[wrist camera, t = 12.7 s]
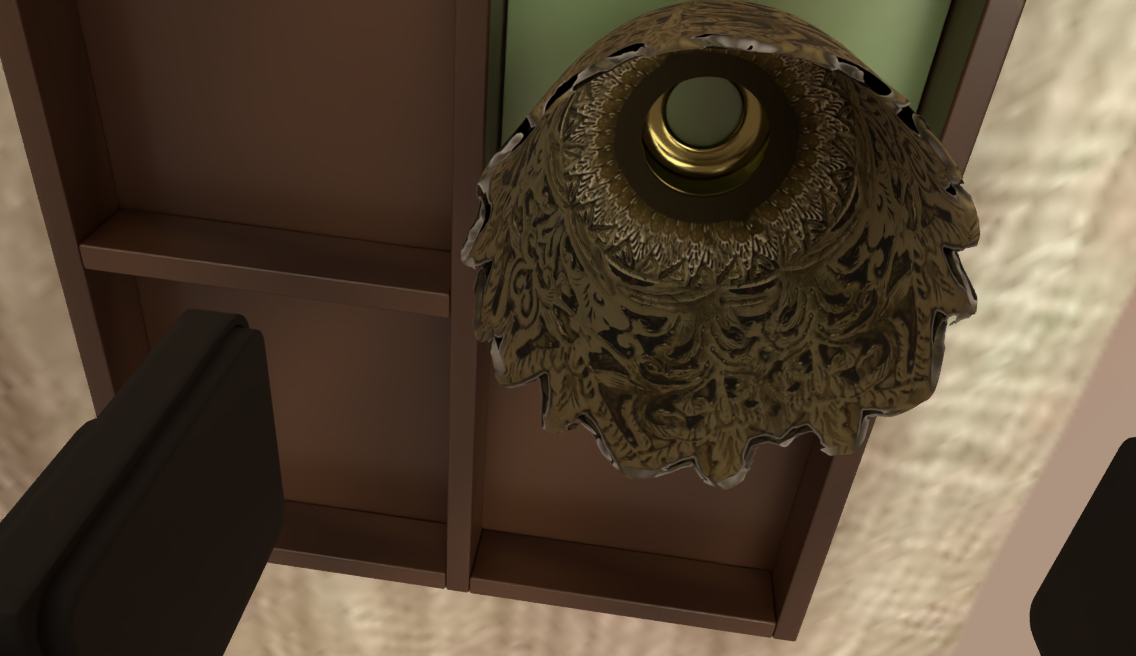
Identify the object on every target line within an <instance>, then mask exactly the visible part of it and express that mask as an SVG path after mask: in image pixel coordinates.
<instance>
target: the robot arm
mask: <svg viewBox="0 0 1136 656" xmlns="http://www.w3.org/2000/svg"><path fill="white" fill-rule="evenodd" d="M284 516H285V501H284V493H283V485H282V477H281V469H280V461H279V453H278V445H277V437H276V429H275V421H274V413H273V405H272V397H271V389H270V381H269V373H268V365H267V357H266V349H265V341H264V337H263V334H262V332H261V331H259V330H256V329H250V328H249V324H248V321H247V320H246V318H245V317H244V316H243V315H241V314H234V313H226V312H218V311H210V310H202V309H193V308H192V309H187V310H186V311H185V312H184V313H183V314H181V316H180V317H179V318H178V319H177V320H176V322H175V323H174V324H173V325H172V327H171V328H170V329H169V330H168V331H167V333H166V334H165V335H164V336H163V337H162V339H161V340H160V341H159V342H158V344H157V345H156V346H155V347H154V348H153V350H152V351H151V352H150V353H149V355H148V356H147V357H146V358H145V359H144V361H143V362H142V363H141V364H140V366H139V367H138V368H137V369H136V370H135V372H134V373H133V374H132V375H131V377H130V378H129V379H128V380H127V381H126V383H125V384H124V385H123V386H122V387H121V389H120V390H119V391H118V392H117V394H116V395H115V396H114V397H113V398H112V400H111V401H110V402H109V403H108V405H107V406H106V407H105V408H104V409H103V411H102V412H101V413H100V414H99V416H98V417H97V418H95V419H93V420H90V421H88V422H86V423H85V424H84V425H83V426H82V427H81V428H80V429H79V430H78V431H76V433H75V434H74V435H73V436H72V437H71V439H70V440H69V441H68V442H67V443H66V445H65V446H64V447H63V448H62V449H61V451H60V452H59V453H58V454H57V455H56V457H55V458H54V459H53V460H52V461H51V463H50V464H49V465H48V466H47V467H46V469H45V470H44V471H43V472H42V473H41V475H40V476H39V477H38V478H37V479H36V481H35V482H34V483H33V484H32V485H31V487H30V488H29V489H28V490H27V491H26V493H25V494H24V495H23V496H22V497H21V499H20V500H19V501H18V502H17V503H16V505H15V506H14V507H13V508H12V509H11V511H10V512H9V513H8V514H7V515H6V517H5V518H4V519H3V520H2V521H1V523H0V656H223V654H224V652H225V650H226V648H227V646H228V644H229V642H230V640H231V638H232V635H233V633H234V631H235V629H236V627H237V625H238V623H239V621H240V619H241V616H242V614H243V612H244V610H245V608H246V606H247V604H248V602H249V600H250V597H251V595H252V593H253V591H254V589H255V587H256V585H257V583H258V581H259V579H260V576H261V574H262V572H263V570H264V568H265V566H266V564H267V562H268V560H269V557H270V555H271V553H272V551H273V549H274V547H275V545H276V543H277V541H278V538H279V536H280V533H281V530H282V527H283V522H284ZM1030 627H1031V631H1032V634H1033V637H1034V640H1035V642H1036V645H1037V647H1038V650H1039V652H1040V655H1041V656H1136V437H1132V438H1129V439H1127V440H1125V441H1124V442H1123V444H1122V445H1121V446H1120V448H1119V449H1118V451H1117V453H1116V455H1115V456H1114V458H1113V460H1112V462H1111V463H1110V465H1109V467H1108V469H1107V470H1106V472H1105V474H1104V476H1103V477H1102V479H1101V481H1100V483H1099V484H1098V486H1097V488H1096V490H1095V491H1094V493H1093V495H1092V497H1091V499H1090V500H1089V502H1088V504H1087V506H1086V507H1085V509H1084V511H1083V513H1082V514H1081V516H1080V518H1079V520H1078V522H1077V523H1076V525H1075V527H1074V528H1073V530H1072V532H1071V534H1070V535H1069V537H1068V539H1067V541H1066V542H1065V544H1064V546H1063V548H1062V549H1061V551H1060V553H1059V555H1058V557H1057V558H1056V560H1055V562H1054V564H1053V565H1052V567H1051V569H1050V570H1049V572H1048V574H1047V576H1046V577H1045V579H1044V581H1043V583H1042V585H1041V586H1040V588H1039V590H1038V592H1037V593H1036V595H1035V597H1034V599H1033V601H1032V604H1031V608H1030Z"/></svg>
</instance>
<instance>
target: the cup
mask: <svg viewBox="0 0 1136 656" xmlns="http://www.w3.org/2000/svg"><path fill="white" fill-rule="evenodd" d="M698 77H718V78H723V79H726V80H727V81H729V82H730V83H731V84H732V85H733V86H734V87H735V88H736V90H737V91H738V93H739V95H740V98H741V101H742V116H741V120H740V122H739V125H738V126H737V128H736V130H735V131H734V132H733V133H732V134H731V135H730V136H729V137H728V138H727V139H725V140H724V141H722V142H720V143H718V144H715V145H711V146H694V145H691V144H688V143H686V142H684V141H682V140H681V139H680V138H678V137H677V136H676V135H675V134H674V132H673V131H672V129H671V128H670V126H669V123H668V120H667V103H668V100H669V97H670V95H671V93H672V92H673V90H674V89H675V88H676V87H677V86H678V85H679V84H680V83H681V82H683V81H686V80H689V79H693V78H698ZM910 103H911V102H910V101H909V100H908V99H907V98H906V97H904V96H903V95H902V94H900V93H899V92H897V91H896V90H895V89H893V88H892V87H891V86H889V85H888V84H887V83H886V82H885V81H883V80H882V79H881V78H880V77H879V76H878V75H877V74H876V73H875V72H874V71H872V70H871V69H870V68H869V67H868V66H867V65H866V64H864V63H863V62H862V61H861V60H860V59H859V58H858V57H857V56H855V55H854V54H853V53H852V52H851V51H850V50H849V49H847V48H846V47H845V46H844V45H843V44H841V43H840V42H838V41H837V40H835V39H834V38H833V37H831V36H830V35H828V34H827V33H825V32H824V31H822V30H821V29H819V28H818V27H816V26H814V25H812V24H810V23H808V22H806V21H805V20H803V19H801V18H799V17H797V16H794V15H792V14H790V13H787V12H784V11H781V10H779V9H776V8H773V7H771V6H766V5H762V4H758V3H753V2H749V1H740V0H695V1H686V2H681V3H677V4H673V5H669V6H664V7H661V8H659V9H656V10H653V11H650V12H647V13H645V14H642V15H640V16H638V17H636V18H634V19H632V20H630V21H628V22H626V23H624V24H622V25H621V26H619V27H618V28H616V29H615V30H613V31H611V32H610V33H608V34H607V35H605V36H604V37H602V38H601V39H599V40H598V41H597V42H596V43H595V44H593V45H592V46H591V47H590V48H588V49H587V50H586V51H585V52H584V53H583V54H581V55H580V56H579V57H578V58H577V59H576V60H575V61H574V62H573V63H572V64H571V66H570V67H569V68H568V69H567V70H566V71H565V72H564V73H563V74H562V75H561V76H560V77H559V78H558V79H557V80H556V82H555V83H554V84H553V85H552V86H551V87H550V89H549V90H548V91H547V92H546V94H545V95H544V96H543V97H542V99H541V100H540V101H539V102H538V104H537V105H536V106H535V107H534V109H533V110H532V111H531V112H530V113H529V114H528V115H527V116H526V118H525V119H524V120H523V122H522V123H521V124H520V125H519V126H518V128H517V129H516V130H515V132H514V133H513V134H512V135H511V136H510V137H509V139H508V140H507V141H506V142H505V143H504V144H503V145H502V146H501V148H500V149H499V150H498V151H497V152H496V154H495V155H494V156H493V158H492V159H491V160H490V162H489V163H488V165H487V166H486V168H485V170H484V172H483V173H482V175H481V177H480V179H479V182H478V184H477V198H478V199H479V210H478V215H477V217H476V219H475V221H474V222H473V224H472V226H471V227H470V229H469V230H468V233H467V236H466V239H465V241H464V244H463V247H462V250H461V262H462V263H463V264H464V265H465V264H466V266H469V267H472V268H473V269H476V268H474V267H475V266H477V265H478V266H479V265H481V266H480V269H479V271H478V273H477V276H476V279H475V282H474V287H473V289H474V294H475V305H474V315H473V330H474V334H475V336H476V339H477V340H479V341H480V342H484V341H486V340H488V342H490V341H491V340H492V339H493V342H492V345H491V349H490V352H491V356H492V361H493V365H494V369H495V377H496V379H497V381H498V383H499V384H500V385H502V386H504V387H507V388H514V387H518V386H524V385H526V384H529V383H532V382H535V381H538V380H537V379H535V378H539V379H540V387H541V393H542V401H541V402H542V403H541V425H542V428H543V429H544V430H546V431H548V432H550V433H554V434H560V433H561V432H563V431H571V430H573V429H576V427H577V425H581V424H582V425H583V426H584V427H585V428H587V429H588V430H589V431H591V433H592V435H593V436H594V438H595V441H596V443H597V446H598V448H599V449H600V451H601V453H602V454H603V455H604V456H605V458H606V459H607V460H608V461H609V462H610V463H611V464H612V465H613V466H614V467H615V468H616V469H617V470H618V471H619V472H620V473H622V474H623V475H624V476H625V477H627V478H630V479H647V478H654V477H658V476H661V475H664V474H668V473H672V472H674V471H676V470H679V469H681V468H685V467H690V466H692V465H693V466H694V469H695V471H696V473H697V475H698V476H699V478H700V479H701V480H702V481H703V482H705V483H706V484H708V485H711V486H713V487H715V488H718V489H721V490H727V489H730V488H733V487H734V486H736V485H737V484H739V483H740V482H742V481H743V480H744V478H745V475H746V473H747V472H748V471H749V469H750V468H749V467H750V466H751V464H752V462H753V459H752V457H753V456H754V454H755V450H756V449H757V448H758V447H756V448H754V449H753V450H752V451H751V452H750V450H751V448H752V447H753V446H756V445H760V444H764V443H773V444H776V445H779V446H781V447H787V446H788V445H789V444H790V443H791V442H792V440H793V439H794V438H795V436H797V435H802V434H805V433H808V432H814V433H815V434H816V435H817V436H818V437H819V438H820V440H821V441H820V443H821V444H822V445H823V446H825V447H826V448H823V449H820V450H822V451H823V452H825V453H827V454H828V455H830V456H832V455H847V454H851V453H853V452H855V451H856V450H857V449H858V448H859V447H860V445H861V444H862V442H863V441H864V439H865V436H866V433H867V429H868V426H869V421H870V416H871V417H875V416H883V417H892V416H896V415H899V414H902V413H904V412H906V411H908V410H910V409H912V408H914V407H916V406H917V405H919V404H921V403H922V402H924V401H926V400H928V399H929V398H930V397H931V396H932V394H933V393H934V391H935V388H936V386H937V383H938V379H939V375H940V371H941V366H942V361H943V356H944V351H945V344H944V340H945V331H946V326H947V319H948V318H949V317H950V316H953V315H956V316H957V317H956V321H953V322H952V323H951V324H949V326H950V325H952V324H954V323H955V324H956V323H957V322H959V321H960V320H963V319H965V318H969V317H970V316H971V315H972V314H975V313H976V310H977V295H976V293H975V290H974V288H973V286H972V284H971V282H970V280H969V278H968V276H967V274H966V272H965V271H964V268H963V266H962V264H961V261H960V258H959V255H958V253H957V252H958V251H963V250H964V249H965V248H970V247H974V246H977V244H978V241H979V237H980V228H979V218H978V216H977V212H976V209H975V206H974V204H973V201H972V198H971V196H970V195H969V194H968V193H967V192H966V191H965V190H964V189H963V188H962V187H961V186H960V185H959V184H964V182H963V180H962V178H961V172H960V170H959V168H958V166H957V164H956V163H955V161H954V160H953V159H952V157H951V156H950V154H949V153H948V152H947V150H946V149H945V148H944V146H943V145H942V144H941V142H940V141H939V139H938V138H937V136H936V135H935V133H934V132H933V130H932V129H931V127H930V126H929V125H928V123H927V122H926V121H925V120H924V119H923V118H922V117H921V116H919V115H917V114H916V113H915V112H914V111H913V110H912V109H911V108H910V107H909V104H910ZM574 420H580V423H581V424H578V423H574V424H571V423H572V422H573V421H574ZM570 424H571V425H570ZM797 437H799V436H797ZM749 452H750V455H749V458H748V460H747V470H746V468H745V465H746V463H745V462H746V459H747V457H748V454H749ZM748 468H749V469H748Z"/></svg>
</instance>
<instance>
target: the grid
mask: <svg viewBox="0 0 1136 656" xmlns="http://www.w3.org/2000/svg"><path fill="white" fill-rule="evenodd" d="M686 1H695V0H0V58H1V61H2V65H3V69H4V72H5V76H6V80H7V84H8V87H9V91H10V95H11V99H12V102H13V106H14V110H15V113H16V117H17V121H18V125H19V128H20V132H21V136H22V140H23V143H24V147H25V151H26V154H27V158H28V162H29V166H30V169H31V173H32V177H33V181H34V184H35V188H36V192H37V195H38V199H39V203H40V207H41V210H42V214H43V218H44V222H45V225H46V229H47V233H48V236H49V240H50V244H51V248H52V251H53V255H54V259H55V263H56V266H57V270H58V274H59V277H60V281H61V285H62V289H63V292H64V296H65V300H66V304H67V307H68V311H69V315H70V319H71V322H72V326H73V330H74V333H75V337H76V341H77V345H78V348H79V352H80V356H81V360H82V363H83V367H84V371H85V374H86V378H87V382H88V386H89V389H90V393H91V397H92V401H93V404H94V408H95V412H96V415H97V417H98V416H99V414H100V413H101V412H102V411H103V409H104V408H105V407H106V406H107V405H108V403H109V402H110V401H111V400H112V398H113V397H114V396H115V395H116V394H117V392H118V391H119V390H120V389H121V387H122V386H123V385H124V384H125V383H126V381H127V380H128V379H129V378H130V377H131V375H132V374H133V373H134V372H135V370H136V369H137V368H138V367H139V366H140V364H141V363H142V362H143V361H144V359H145V358H146V357H147V356H148V355H149V353H150V352H151V351H152V350H153V348H154V347H155V346H156V345H157V344H158V342H159V341H160V340H161V339H162V337H163V336H164V335H165V334H166V333H167V331H168V330H169V329H170V328H171V327H172V325H173V324H174V323H175V322H176V320H177V319H178V318H179V317H180V316H181V314H183V313H184V312H185V311H186V310H187V309H192V308H193V309H202V310H210V311H218V312H226V313H234V314H241V315H243V316H244V317H245V318H246V320H247V321H248V324H249V328H250V329H256V330H259V331H261V332H262V334H263V337H264V341H265V349H266V357H267V365H268V373H269V381H270V389H271V397H272V405H273V413H274V421H275V429H276V437H277V445H278V453H279V461H280V469H281V477H282V485H283V493H284V501H285V516H284V522H283V527H282V530H281V533H280V536H279V538H278V541H277V543H276V545H275V547H274V549H273V551H272V553H271V555H270V557H269V560H268V563H274V564H281V565H288V566H295V567H301V568H308V569H315V570H321V571H328V572H335V573H341V574H348V575H355V576H361V577H368V578H375V579H381V580H388V581H395V582H401V583H408V584H415V585H421V586H428V587H435V588H441V589H444V588H445V587H446V588H447V589H448V590H454V591H461V592H468V591H470V593H474V594H481V595H488V596H494V597H501V598H508V599H514V600H521V601H528V602H534V603H541V604H548V605H554V606H561V607H568V608H574V609H581V610H588V611H594V612H601V613H608V614H614V615H621V616H628V617H634V618H641V619H648V620H654V621H661V622H668V623H675V624H681V625H688V626H695V627H701V628H708V629H715V630H721V631H728V632H735V633H741V634H748V635H755V636H761V637H768V638H771V637H772V636H773V638H775V639H781V640H788V641H796V639H797V636H798V633H799V630H800V628H801V625H802V622H803V619H804V617H805V614H806V611H807V608H808V605H809V603H810V600H811V597H812V594H813V592H814V589H815V586H816V583H817V580H818V578H819V575H820V572H821V569H822V567H823V564H824V561H825V558H826V555H827V553H828V550H829V547H830V544H831V542H832V539H833V536H834V533H835V530H836V528H837V525H838V522H839V519H840V517H841V514H842V511H843V508H844V505H845V503H846V500H847V497H848V494H849V492H850V489H851V486H852V483H853V480H854V478H855V475H856V472H857V469H858V467H859V464H860V461H861V458H862V455H863V453H864V450H865V447H866V444H867V442H868V439H869V436H870V433H871V430H872V428H873V425H874V422H875V419H876V417H877V416H875V417H871V416H870V421H869V426H868V429H867V433H866V436H865V439H864V441H863V442H862V444H861V445H860V447H859V448H858V449H857V450H856V451H855V452H853V453H851V454H847V455H832V456H830V455H828V454H827V453H825V452H823V451H822V450H820V449H823V448H826V447H825V446H823V445H822V444H821V443H820V441H821V440H820V438H819V437H818V436H817V435H816V434H815V433H814V432H808V433H805V434H802V435H797V436H799V437H797V436H795V438H794V439H793V440H792V442H791V443H790V444H789V445H788V446H787V447H781V446H779V445H776V444H773V443H764V444H760V445H756V446H753V447H752V448H751V450H750V452H751V451H752V450H753V449H754V448H756V447H758V448H757V449H756V450H755V454H754V456H753V457H752V459H753V462H752V464H751V466H750V467H749V468H750V469H749V468H748V469H749V471H748V472H747V473H746V475H745V478H744V480H743V481H742V482H740V483H739V484H737V485H736V486H734V487H733V488H730V489H727V490H721V489H718V488H715V487H713V486H711V485H708V484H706V483H705V482H703V481H702V480H701V479H700V478H699V476H698V475H697V473H696V471H695V469H694V466H693V465H692V466H690V467H685V468H681V469H679V470H676V471H674V472H672V473H668V474H664V475H661V476H658V477H654V478H647V479H630V478H627V477H625V476H624V475H623V474H622V473H620V472H619V471H618V470H617V469H616V468H615V467H614V466H613V465H612V464H611V463H610V462H609V461H608V460H607V459H606V458H605V456H604V455H603V454H602V453H601V451H600V449H599V448H598V446H597V443H596V441H595V438H594V436H593V435H592V433H591V431H589V430H588V429H587V428H585V427H584V426H583V425H582V424H581V423H580V420H574V421H573V422H572V423H571V424H574V423H578V424H581V425H577V427H576V429H573V430H571V431H563V432H561V433H560V434H554V433H550V432H548V431H546V430H544V429H543V428H542V425H541V403H542V402H541V401H542V393H541V387H540V379H539V378H535V379H537V380H538V381H535V382H532V383H529V384H526V385H524V386H518V387H514V388H507V387H504V386H502V385H500V384H499V383H498V381H497V379H496V377H495V369H494V365H493V361H492V356H491V352H490V349H491V345H492V342H493V339H492V340H491V341H490V342H488V340H486V341H484V342H480V341H479V340H477V339H476V336H475V334H474V330H473V315H474V305H475V294H474V289H473V287H474V282H475V279H476V276H477V273H478V271H479V269H480V266H481V265H479V266H478V265H477V266H475V267H474V268H476V269H473V268H472V267H469V266H466V264H465V265H464V264H463V263H462V262H461V250H462V247H463V244H464V241H465V239H466V236H467V233H468V230H469V229H470V227H471V226H472V224H473V222H474V221H475V219H476V217H477V215H478V210H479V199H478V198H477V184H478V182H479V179H480V177H481V175H482V173H483V172H484V170H485V168H486V166H487V165H488V163H489V162H490V160H491V159H492V158H493V156H494V155H495V154H496V152H497V151H498V150H499V149H500V148H501V146H502V145H503V144H504V143H505V142H506V141H507V140H508V139H509V137H510V136H511V135H512V134H513V133H514V132H515V130H516V129H517V128H518V126H519V125H520V124H521V123H522V122H523V120H524V119H525V118H526V116H527V115H528V114H529V113H530V112H531V111H532V110H533V109H534V107H535V106H536V105H537V104H538V102H539V101H540V100H541V99H542V97H543V96H544V95H545V94H546V92H547V91H548V90H549V89H550V87H551V86H552V85H553V84H554V83H555V82H556V80H557V79H558V78H559V77H560V76H561V75H562V74H563V73H564V72H565V71H566V70H567V69H568V68H569V67H570V66H571V64H572V63H573V62H574V61H575V60H576V59H577V58H578V57H579V56H580V55H581V54H583V53H584V52H585V51H586V50H587V49H588V48H590V47H591V46H592V45H593V44H595V43H596V42H597V41H598V40H599V39H601V38H602V37H604V36H605V35H607V34H608V33H610V32H611V31H613V30H615V29H616V28H618V27H619V26H621V25H622V24H624V23H626V22H628V21H630V20H632V19H634V18H636V17H638V16H640V15H642V14H645V13H647V12H650V11H653V10H656V9H659V8H661V7H664V6H669V5H673V4H677V3H681V2H686ZM740 1H749V2H753V3H758V4H762V5H766V6H771V7H773V8H776V9H779V10H781V11H784V12H787V13H790V14H792V15H794V16H797V17H799V18H801V19H803V20H805V21H806V22H808V23H810V24H812V25H814V26H816V27H818V28H819V29H821V30H822V31H824V32H825V33H827V34H828V35H830V36H831V37H833V38H834V39H835V40H837V41H838V42H840V43H841V44H843V45H844V46H845V47H846V48H847V49H849V50H850V51H851V52H852V53H853V54H854V55H855V56H857V57H858V58H859V59H860V60H861V61H862V62H863V63H864V64H866V65H867V66H868V67H869V68H870V69H871V70H872V71H874V72H875V73H876V74H877V75H878V76H879V77H880V78H881V79H882V80H883V81H885V82H886V83H887V84H888V85H889V86H891V87H892V88H893V89H895V90H896V91H897V92H899V93H900V94H902V95H903V96H904V97H906V98H907V99H908V100H909V101H910V102H911V103H910V104H909V107H910V108H911V109H912V110H913V111H914V112H915V113H916V114H917V115H919V116H921V117H922V118H923V119H924V120H925V121H926V122H927V123H928V125H929V126H930V127H931V129H932V130H933V132H934V133H935V135H936V136H937V138H938V139H939V141H940V142H941V144H942V145H943V146H944V148H945V149H946V150H947V152H948V153H949V154H950V156H951V157H952V159H953V160H954V161H955V163H956V164H957V166H958V168H959V170H960V172H961V178H963V175H964V172H965V169H966V167H967V164H968V161H969V158H970V155H971V153H972V150H973V147H974V144H975V142H976V139H977V136H978V133H979V130H980V128H981V125H982V122H983V119H984V117H985V114H986V111H987V108H988V105H989V103H990V100H991V97H992V94H993V92H994V89H995V86H996V83H997V80H998V78H999V75H1000V72H1001V69H1002V67H1003V64H1004V61H1005V58H1006V55H1007V53H1008V50H1009V47H1010V44H1011V42H1012V39H1013V36H1014V33H1015V30H1016V28H1017V25H1018V22H1019V19H1020V17H1021V14H1022V11H1023V8H1024V5H1025V3H1026V0H740ZM741 116H742V101H741V98H740V95H739V93H738V91H737V90H736V88H735V87H734V86H733V85H732V84H731V83H730V82H729V81H727V80H726V79H723V78H718V77H698V78H693V79H689V80H686V81H683V82H681V83H680V84H679V85H678V86H677V87H676V88H675V89H674V90H673V92H672V93H671V95H670V97H669V100H668V103H667V120H668V123H669V126H670V128H671V129H672V131H673V132H674V134H675V135H676V136H677V137H678V138H680V139H681V140H682V141H684V142H686V143H688V144H691V145H694V146H711V145H715V144H718V143H720V142H722V141H724V140H725V139H727V138H728V137H729V136H730V135H731V134H732V133H733V132H734V131H735V130H736V128H737V126H738V125H739V122H740V120H741ZM959 185H960V184H959ZM571 424H570V425H571ZM750 452H749V454H748V457H747V459H746V462H745V463H746V465H745V468H746V470H747V460H748V458H749V455H750Z"/></svg>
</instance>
